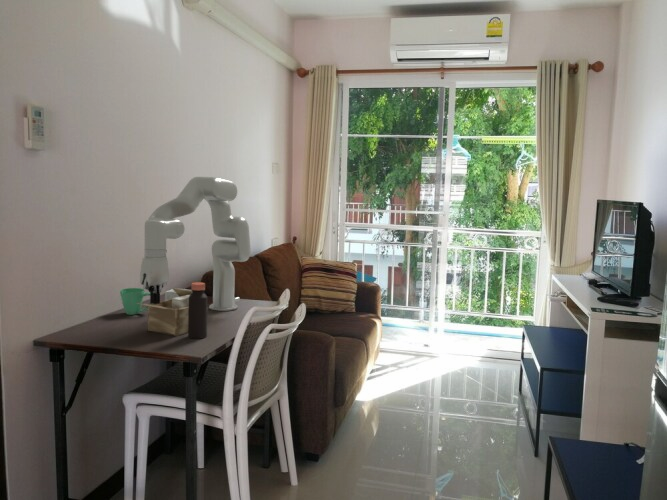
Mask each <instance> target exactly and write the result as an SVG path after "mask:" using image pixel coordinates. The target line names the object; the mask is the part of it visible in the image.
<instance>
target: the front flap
mask: <svg viewBox="0 0 667 500" xmlns="http://www.w3.org/2000/svg"><path fill="white" fill-rule="evenodd" d="M137 304H141V306H146V307H147V306H152V307H158V308H164V309H171V310H174V309H172V308H166V307H161V306H155V305H150V303H149V304H148V303H143V302H142V303H137Z"/></svg>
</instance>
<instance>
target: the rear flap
mask: <svg viewBox="0 0 667 500" xmlns="http://www.w3.org/2000/svg"><path fill="white" fill-rule="evenodd" d="M171 289H173V290H174V291H175V292H176V293H177V295H178V296H179V297H181V296H186V295H190V294H192V291H190V290H191V289H189V290H184V289H185V288H180V289H178V287H177V288H176V287H172V288H171Z"/></svg>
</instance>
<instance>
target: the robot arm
mask: <svg viewBox="0 0 667 500" xmlns="http://www.w3.org/2000/svg"><path fill="white" fill-rule="evenodd" d="M237 195H238V188H237V185H236V184H235V182H234V181H232V180H228V179H223V178H220V177H213V176H194V177H193V178H191V179H190V180H189V181H188V183H187V184H186V185H185V186H184V188H183V189H182V191H180V193H179V194H178V196H176V197H175V198H173V199H171V200H169V201H167V202H165V203H163V204H162V205H160V206H158V207H157V208H155V210H154V211H153V212H152V213H151V215H149V217H148V219H146V220H145V222H144V249H143V250H144V253H143V254H144V257H142V260H141V264H140V275H139V283H140V285H142V289H144V290H147V291H148V292H149V293H150V296H149V299H150V300H149V304H150V303H152V304H159V303H160V302H161V293H162V291H163V288H165V287H166V286H167V285H168V282H169V273H170V272H169V261H168V257H167V253H168V250H167V239H171V240H174V239H180V238H181V237H182V236H183V235H184V233H185V225H184V223H183V222H182V221H181V220H180V219H176V218H180V217H184V216H185V217H186V216H187V215H191V214H192V213H193V214H194V212H195V211H196V210H197V209H198V207H199V206H200V204H201V203H202V202H203V200H205V202H207V203H208V206H209V208H210V213H211V214H210V215H211V221H212V222H211V223H212V229H213V234H214V235H215V236H217V237H220V239H216V240H215V241H214V242H213V243H212V244H211V255H212V263H213V275H212V276H213V279H212V280H213V281H212V282H213V283H212V286H213V287H212V288H213V290H212V303H211V304H210V305H208V306H209V307H208V308H209V309H210V310H213V311H217V312H218V311H219V312H221V311H223V312H227V311H228V312H229V311H234V310H237V309H238V306H239V305H237V304H236V303H237V302H240V297H239V296H237V297H235V289H236V288H235V287H236V286H235V284H236V282H235V281H236V279H235V278H236V270H235V266H234V264H233V263H232V262H240V263H243V262H247V261H248V260H249V259H250V255H251V238H250V228H249V223H248V221H247V219H245V218H244V217H241V216H234V215H232V210H231V204H230V202H232V201H234V200H235V199H236V198H237ZM227 238H229V239H227Z"/></svg>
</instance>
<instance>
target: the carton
mask: <svg viewBox="0 0 667 500" xmlns="http://www.w3.org/2000/svg"><path fill="white" fill-rule="evenodd" d="M190 295H191V294H190ZM190 295H186V296H181V297H177V298H172V299H170V300H166V301H165V300H162V301H160V303H159V304H150V303H149V304H150V305H155V306H161V307H166V308H172V309H174V310H171V309H164V308H158V307H152V306H148V309H147V331H149V332H154V333H158V334H163V335H166V336H167V335H168V336H173V337H179V336H181V335H185V334H188V310H189V296H190Z"/></svg>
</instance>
